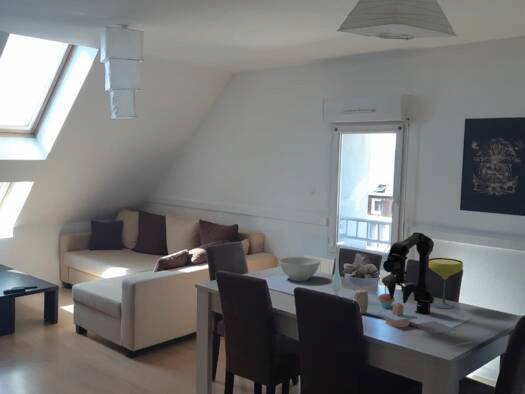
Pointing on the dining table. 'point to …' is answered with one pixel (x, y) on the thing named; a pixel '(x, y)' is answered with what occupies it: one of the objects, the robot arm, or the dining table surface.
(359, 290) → the carving
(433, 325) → the mat
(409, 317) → the cover
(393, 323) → the bowl
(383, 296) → the cupcake
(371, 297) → the dining table surface
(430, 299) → the robot arm
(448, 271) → the cocktail glass
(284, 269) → the decorative bowl
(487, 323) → the dining table surface
